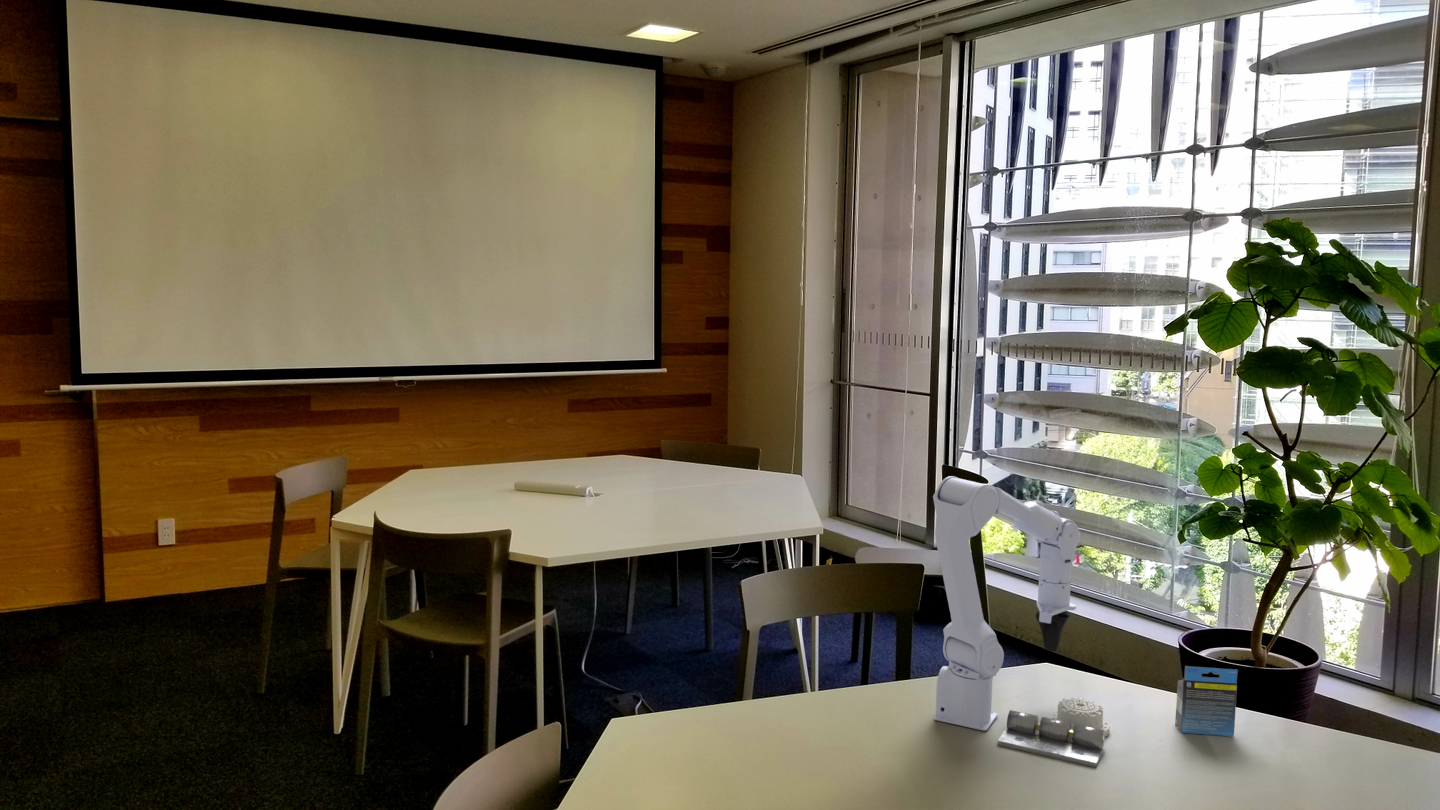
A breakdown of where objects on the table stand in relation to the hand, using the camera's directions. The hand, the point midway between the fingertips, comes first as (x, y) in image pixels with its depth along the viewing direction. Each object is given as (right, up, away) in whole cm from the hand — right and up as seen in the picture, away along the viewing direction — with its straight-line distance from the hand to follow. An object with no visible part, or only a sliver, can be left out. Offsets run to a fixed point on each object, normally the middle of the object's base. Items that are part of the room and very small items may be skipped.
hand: (1051, 649), depth 195 cm
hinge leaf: (-6, -12, -20) cm, 24 cm away
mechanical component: (+1, -11, -12) cm, 17 cm away
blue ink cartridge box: (+23, -12, -13) cm, 29 cm away
